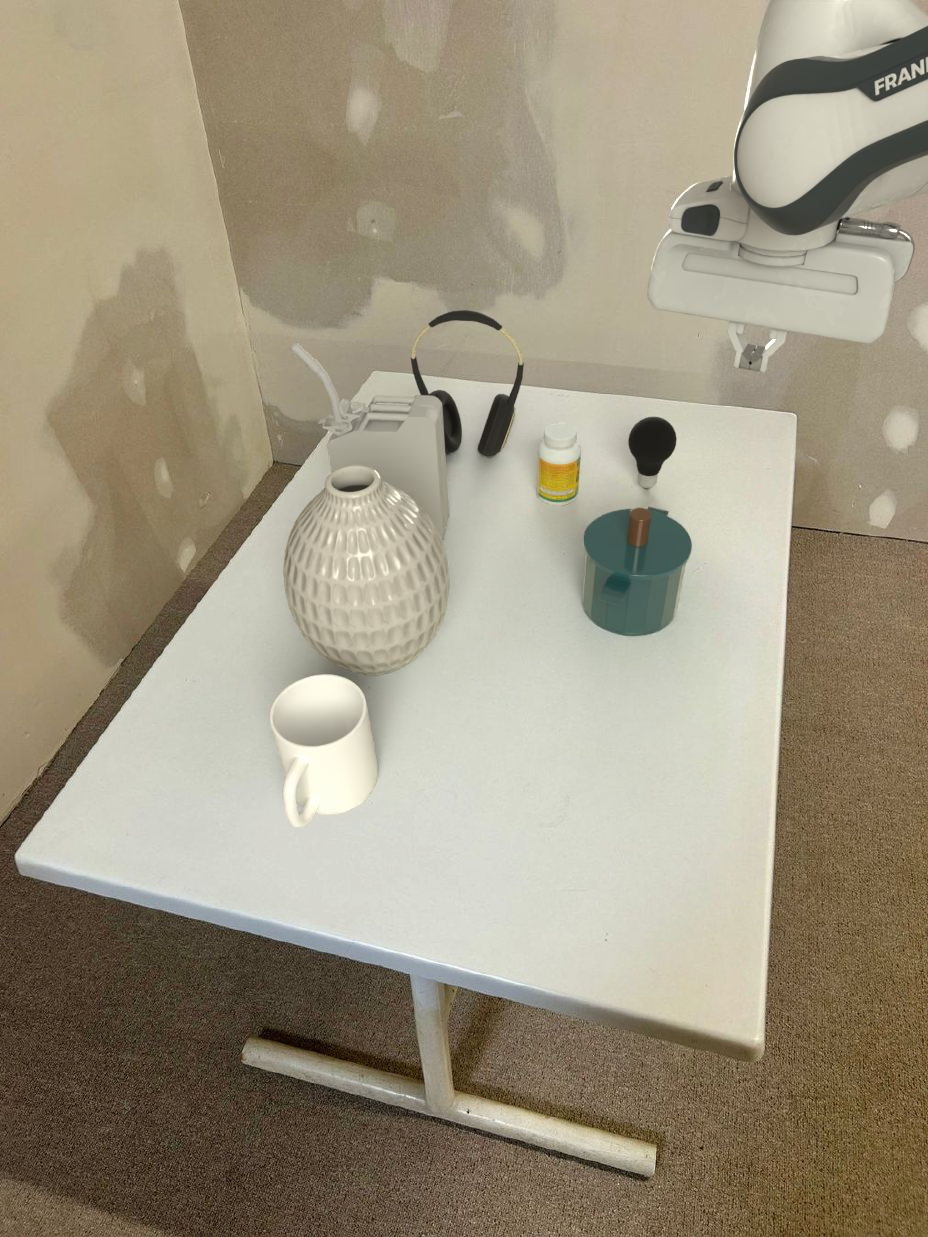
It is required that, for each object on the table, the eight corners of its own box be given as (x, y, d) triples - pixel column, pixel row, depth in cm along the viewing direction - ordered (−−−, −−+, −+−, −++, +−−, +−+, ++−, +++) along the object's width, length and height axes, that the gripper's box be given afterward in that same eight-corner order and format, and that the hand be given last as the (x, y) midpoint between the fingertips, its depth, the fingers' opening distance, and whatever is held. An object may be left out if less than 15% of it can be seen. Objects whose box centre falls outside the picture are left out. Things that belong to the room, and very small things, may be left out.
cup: (391, 754, 83) (380, 683, 76) (343, 862, 74) (326, 795, 67) (312, 736, 85) (294, 666, 78) (257, 840, 76) (231, 772, 69)
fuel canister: (321, 537, 107) (285, 348, 90) (332, 512, 111) (298, 327, 94) (443, 544, 105) (429, 353, 88) (449, 519, 109) (437, 331, 92)
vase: (473, 615, 96) (466, 443, 81) (424, 724, 85) (405, 549, 70) (339, 589, 100) (308, 420, 85) (276, 690, 89) (228, 518, 74)
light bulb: (623, 473, 115) (630, 406, 108) (668, 475, 114) (678, 408, 107) (623, 499, 111) (630, 431, 104) (669, 502, 110) (680, 433, 103)
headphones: (425, 430, 124) (414, 294, 111) (526, 437, 122) (529, 299, 108) (411, 463, 118) (398, 324, 105) (518, 471, 116) (519, 330, 102)
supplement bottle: (532, 485, 114) (534, 421, 107) (572, 480, 114) (576, 416, 107) (541, 509, 110) (543, 444, 103) (582, 504, 110) (587, 439, 104)
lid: (702, 532, 93) (709, 496, 90) (672, 596, 86) (679, 560, 82) (603, 507, 97) (606, 472, 93) (567, 567, 90) (569, 531, 86)
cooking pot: (694, 573, 100) (705, 514, 94) (653, 664, 90) (662, 605, 84) (608, 550, 103) (614, 492, 98) (559, 635, 93) (562, 576, 88)
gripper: (926, 212, 68) (875, 373, 78) (673, 183, 75) (654, 334, 85) (918, 240, 64) (865, 406, 74) (651, 207, 71) (634, 363, 81)
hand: (750, 367), depth 79 cm, fingers closed
